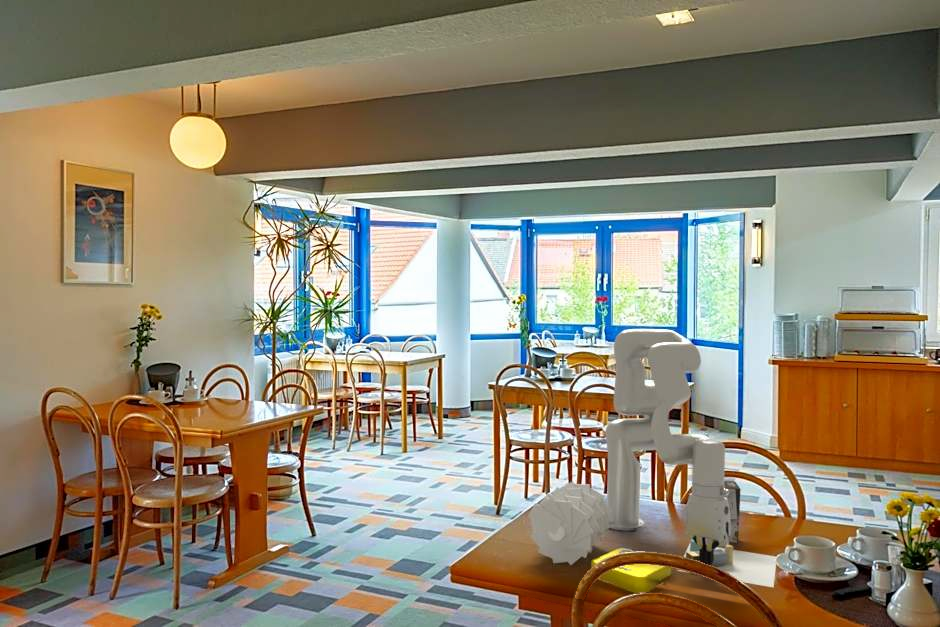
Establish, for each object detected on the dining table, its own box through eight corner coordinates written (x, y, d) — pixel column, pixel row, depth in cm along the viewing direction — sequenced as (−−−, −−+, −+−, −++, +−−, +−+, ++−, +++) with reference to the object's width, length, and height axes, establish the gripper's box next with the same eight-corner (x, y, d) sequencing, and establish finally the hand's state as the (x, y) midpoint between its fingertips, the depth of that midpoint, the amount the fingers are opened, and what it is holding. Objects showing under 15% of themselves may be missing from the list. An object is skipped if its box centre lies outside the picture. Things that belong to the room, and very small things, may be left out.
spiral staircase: (595, 556, 204) (571, 584, 181) (541, 520, 211) (511, 542, 188) (626, 500, 201) (605, 521, 178) (570, 466, 208) (544, 481, 185)
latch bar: (719, 560, 188) (720, 548, 188) (727, 565, 185) (727, 553, 185) (685, 564, 185) (686, 552, 185) (692, 568, 182) (693, 556, 182)
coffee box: (739, 547, 203) (741, 488, 203) (714, 544, 204) (716, 487, 204) (734, 536, 212) (736, 480, 212) (710, 534, 213) (712, 479, 213)
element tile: (587, 578, 179) (587, 559, 179) (620, 563, 190) (620, 544, 190) (642, 597, 169) (642, 576, 168) (673, 579, 180) (674, 560, 179)
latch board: (676, 575, 181) (677, 552, 181) (689, 547, 202) (690, 527, 202) (773, 592, 172) (774, 568, 172) (776, 561, 193) (777, 540, 192)
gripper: (744, 493, 178) (742, 569, 179) (686, 482, 189) (685, 554, 189) (730, 499, 173) (729, 577, 173) (672, 487, 183) (670, 561, 183)
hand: (706, 565), depth 181 cm, fingers closed
